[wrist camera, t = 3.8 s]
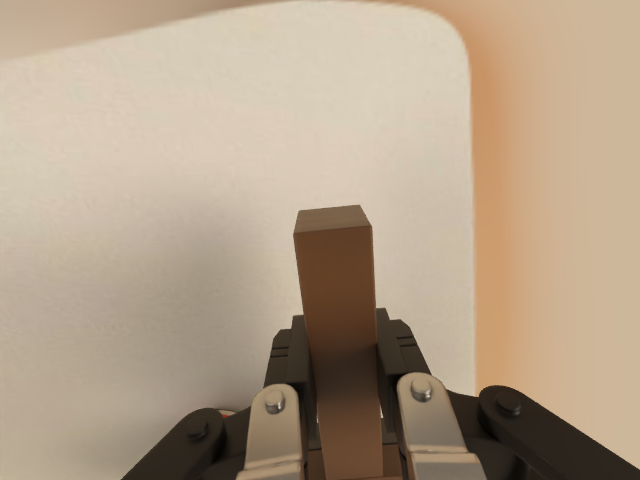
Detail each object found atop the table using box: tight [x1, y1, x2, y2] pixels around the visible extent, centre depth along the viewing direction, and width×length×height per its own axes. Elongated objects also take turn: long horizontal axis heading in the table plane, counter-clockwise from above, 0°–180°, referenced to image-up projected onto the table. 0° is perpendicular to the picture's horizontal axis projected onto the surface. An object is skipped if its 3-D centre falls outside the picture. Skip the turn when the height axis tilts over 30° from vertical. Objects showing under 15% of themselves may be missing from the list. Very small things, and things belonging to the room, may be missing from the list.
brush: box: [293, 205, 402, 480], centre depth 13 cm, size 17×4×3 cm, turn 6°
